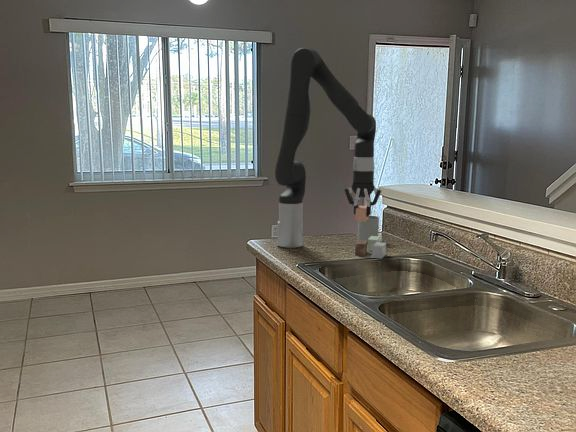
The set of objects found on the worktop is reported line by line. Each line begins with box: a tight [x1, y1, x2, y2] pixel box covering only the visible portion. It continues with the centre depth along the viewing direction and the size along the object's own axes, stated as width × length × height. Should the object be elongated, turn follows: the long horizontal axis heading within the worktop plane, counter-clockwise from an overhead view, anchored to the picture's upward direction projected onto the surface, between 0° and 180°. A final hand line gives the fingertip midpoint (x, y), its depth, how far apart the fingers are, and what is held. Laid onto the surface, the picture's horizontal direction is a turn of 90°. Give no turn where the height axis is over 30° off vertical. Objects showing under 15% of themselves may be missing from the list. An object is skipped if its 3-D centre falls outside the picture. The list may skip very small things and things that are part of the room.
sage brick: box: [367, 235, 381, 252], centre depth 215 cm, size 4×7×4 cm, turn 162°
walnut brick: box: [354, 239, 368, 257], centre depth 208 cm, size 4×7×4 cm, turn 164°
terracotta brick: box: [355, 205, 369, 222], centre depth 206 cm, size 4×7×4 cm, turn 161°
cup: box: [357, 215, 380, 244], centre depth 230 cm, size 8×8×10 cm
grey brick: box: [371, 241, 387, 260], centre depth 204 cm, size 4×7×4 cm, turn 158°
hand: (362, 215), depth 206 cm, fingers closed on terracotta brick, 3 cm apart
